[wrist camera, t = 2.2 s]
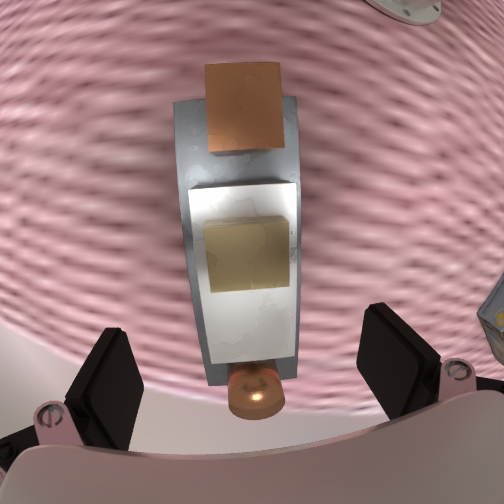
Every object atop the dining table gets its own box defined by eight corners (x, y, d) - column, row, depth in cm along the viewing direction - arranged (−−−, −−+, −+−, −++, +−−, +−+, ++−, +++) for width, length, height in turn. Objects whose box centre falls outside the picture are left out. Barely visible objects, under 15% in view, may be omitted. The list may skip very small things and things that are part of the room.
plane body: (184, 115, 18) (136, 62, 7) (281, 109, 18) (342, 56, 7) (210, 352, 24) (206, 459, 13) (286, 345, 25) (318, 447, 14)
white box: (195, 185, 15) (183, 193, 11) (283, 179, 16) (304, 185, 11) (212, 335, 18) (210, 380, 14) (285, 329, 19) (300, 372, 14)
